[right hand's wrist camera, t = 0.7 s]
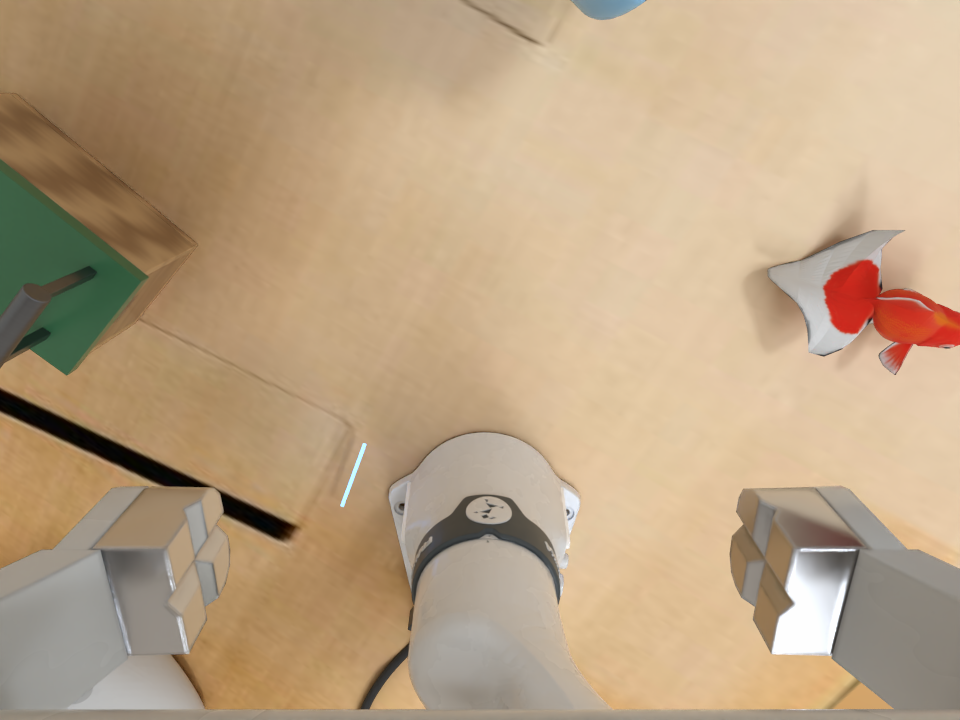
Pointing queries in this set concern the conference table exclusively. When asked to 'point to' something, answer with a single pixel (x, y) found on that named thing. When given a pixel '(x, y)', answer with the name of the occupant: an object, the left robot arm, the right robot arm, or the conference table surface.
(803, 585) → the right robot arm
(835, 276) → the fish
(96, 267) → the lid
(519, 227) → the conference table surface
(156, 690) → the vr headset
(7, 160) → the chest
